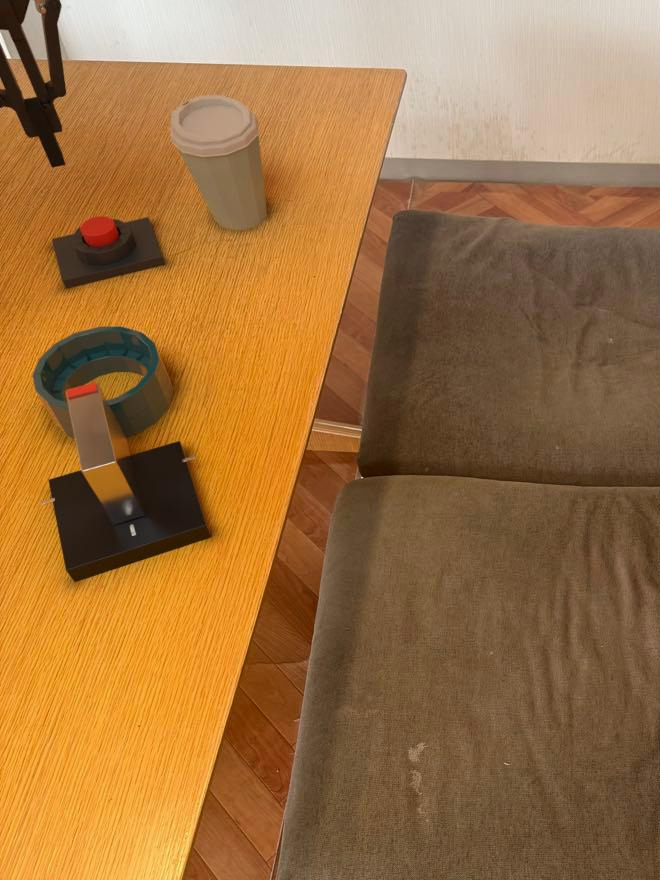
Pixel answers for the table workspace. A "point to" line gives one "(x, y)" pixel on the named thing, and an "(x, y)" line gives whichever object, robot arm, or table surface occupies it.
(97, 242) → the button
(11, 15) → the robot arm
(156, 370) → the teal ring
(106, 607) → the table surface
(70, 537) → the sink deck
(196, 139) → the disposable coffee cup
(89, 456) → the reflective bent rectangular block
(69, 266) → the button box
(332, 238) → the table surface
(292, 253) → the table surface
